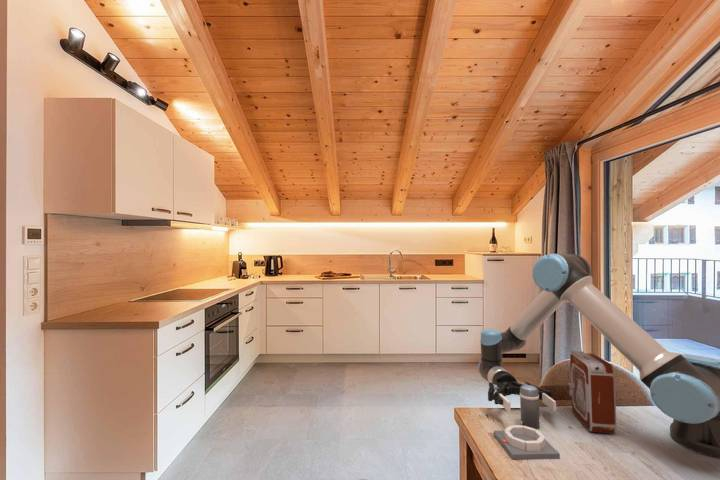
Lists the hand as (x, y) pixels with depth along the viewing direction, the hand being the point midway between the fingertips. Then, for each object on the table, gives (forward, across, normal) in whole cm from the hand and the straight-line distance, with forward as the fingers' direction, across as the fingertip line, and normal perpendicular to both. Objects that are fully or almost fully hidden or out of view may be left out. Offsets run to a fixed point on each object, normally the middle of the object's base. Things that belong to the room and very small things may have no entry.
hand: (532, 406), depth 105 cm
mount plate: (+9, +7, -6) cm, 13 cm away
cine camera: (-5, -20, -7) cm, 22 cm away
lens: (-2, 0, -6) cm, 7 cm away
